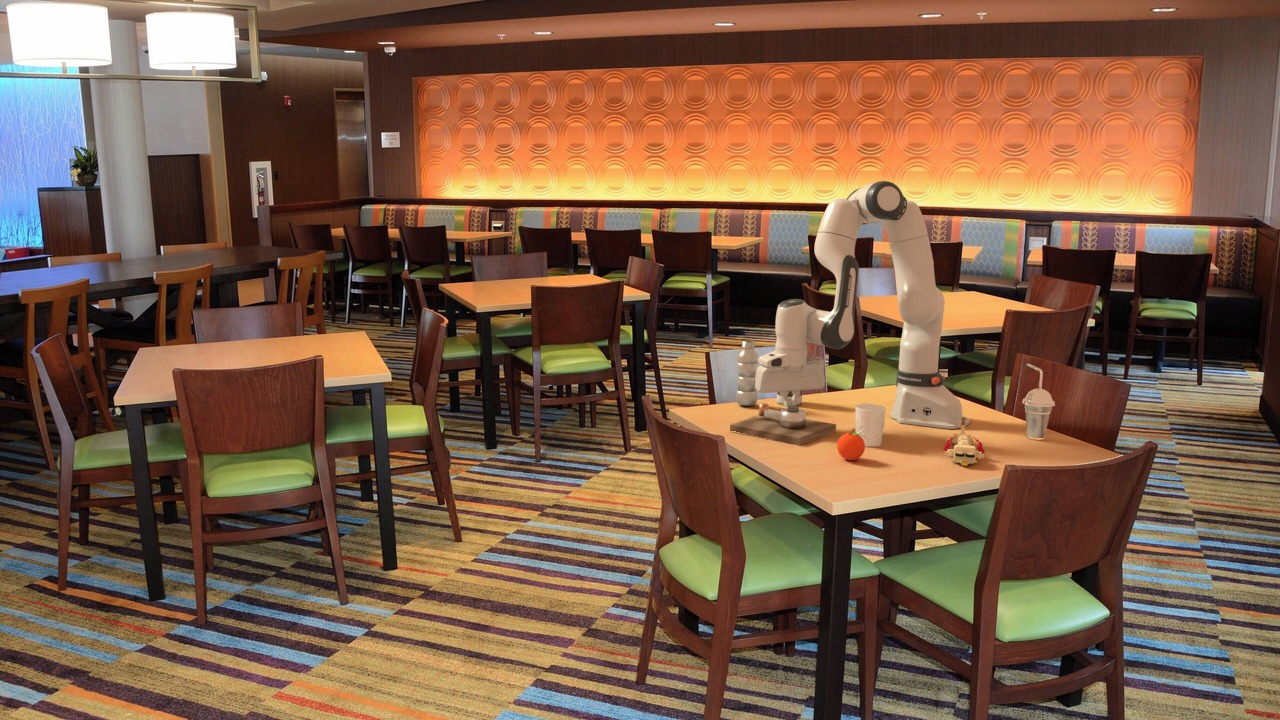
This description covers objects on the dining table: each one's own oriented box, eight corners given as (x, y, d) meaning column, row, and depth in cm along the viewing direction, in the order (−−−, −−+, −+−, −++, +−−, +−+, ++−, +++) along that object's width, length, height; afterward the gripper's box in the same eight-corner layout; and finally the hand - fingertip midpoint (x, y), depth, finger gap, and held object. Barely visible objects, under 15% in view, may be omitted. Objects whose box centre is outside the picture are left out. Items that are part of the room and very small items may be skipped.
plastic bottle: (758, 408, 319) (760, 343, 315) (736, 407, 319) (738, 343, 315) (756, 403, 325) (758, 339, 321) (734, 403, 325) (736, 339, 322)
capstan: (810, 425, 289) (811, 408, 288) (794, 429, 284) (794, 411, 283) (768, 415, 301) (768, 397, 300) (751, 418, 296) (752, 401, 295)
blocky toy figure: (941, 446, 283) (943, 464, 259) (944, 414, 282) (945, 429, 258) (980, 450, 281) (985, 467, 257) (982, 417, 280) (988, 432, 256)
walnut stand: (835, 431, 292) (836, 423, 292) (799, 445, 277) (799, 437, 277) (768, 418, 306) (768, 411, 305) (729, 431, 290) (730, 423, 290)
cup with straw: (1024, 441, 284) (1030, 369, 280) (1014, 433, 292) (1020, 363, 289) (1056, 442, 283) (1063, 369, 280) (1045, 434, 292) (1051, 363, 288)
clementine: (864, 456, 268) (866, 429, 266) (871, 463, 261) (873, 435, 260) (833, 455, 268) (835, 428, 266) (839, 463, 261) (840, 435, 259)
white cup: (859, 448, 275) (861, 410, 273) (849, 440, 283) (851, 404, 281) (888, 447, 277) (890, 410, 275) (877, 439, 284) (879, 403, 282)
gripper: (819, 353, 299) (818, 401, 302) (753, 358, 293) (752, 406, 295) (829, 357, 293) (828, 405, 296) (762, 362, 287) (761, 411, 290)
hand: (789, 406), depth 296 cm, fingers closed
